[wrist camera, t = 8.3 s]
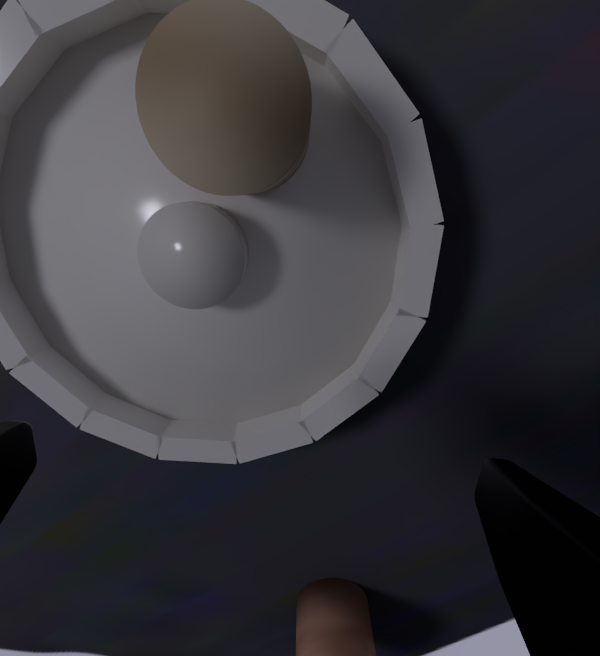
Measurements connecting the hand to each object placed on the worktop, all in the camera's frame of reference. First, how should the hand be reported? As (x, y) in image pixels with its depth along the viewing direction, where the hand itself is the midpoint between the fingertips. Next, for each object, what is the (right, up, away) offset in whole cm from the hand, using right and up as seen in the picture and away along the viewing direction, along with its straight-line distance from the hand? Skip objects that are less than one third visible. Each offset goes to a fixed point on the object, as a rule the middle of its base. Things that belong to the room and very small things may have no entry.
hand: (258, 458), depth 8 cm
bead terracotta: (+3, -15, +17) cm, 22 cm away
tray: (-3, +6, +9) cm, 12 cm away
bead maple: (-1, +10, +7) cm, 12 cm away
